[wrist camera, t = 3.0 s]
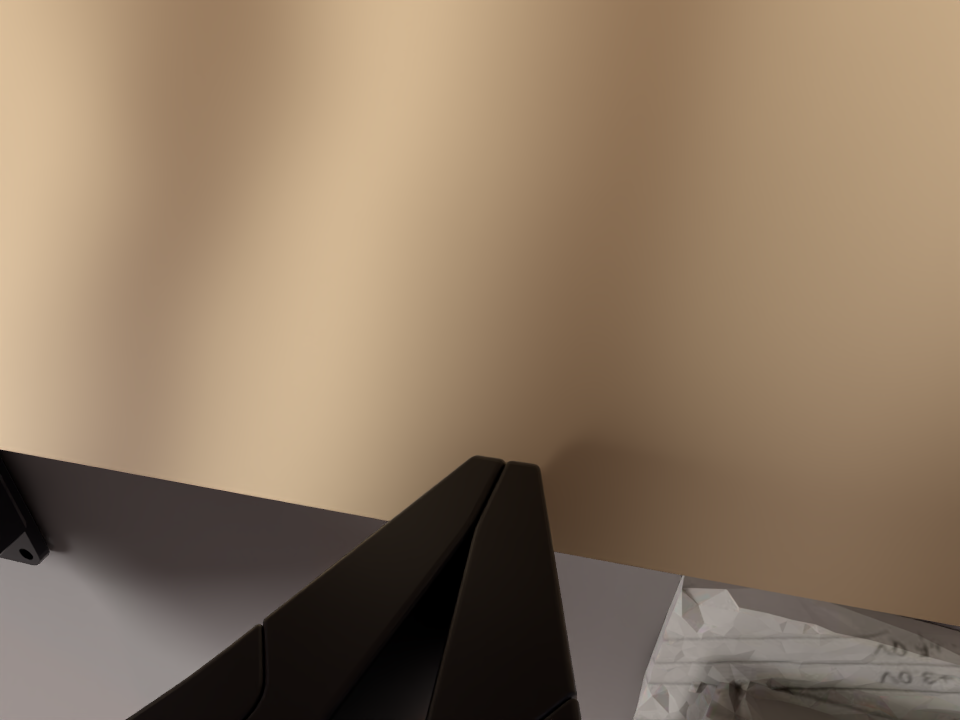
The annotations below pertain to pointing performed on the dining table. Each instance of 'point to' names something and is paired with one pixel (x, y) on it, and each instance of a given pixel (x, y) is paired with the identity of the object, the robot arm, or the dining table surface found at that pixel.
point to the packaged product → (795, 660)
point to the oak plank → (506, 267)
